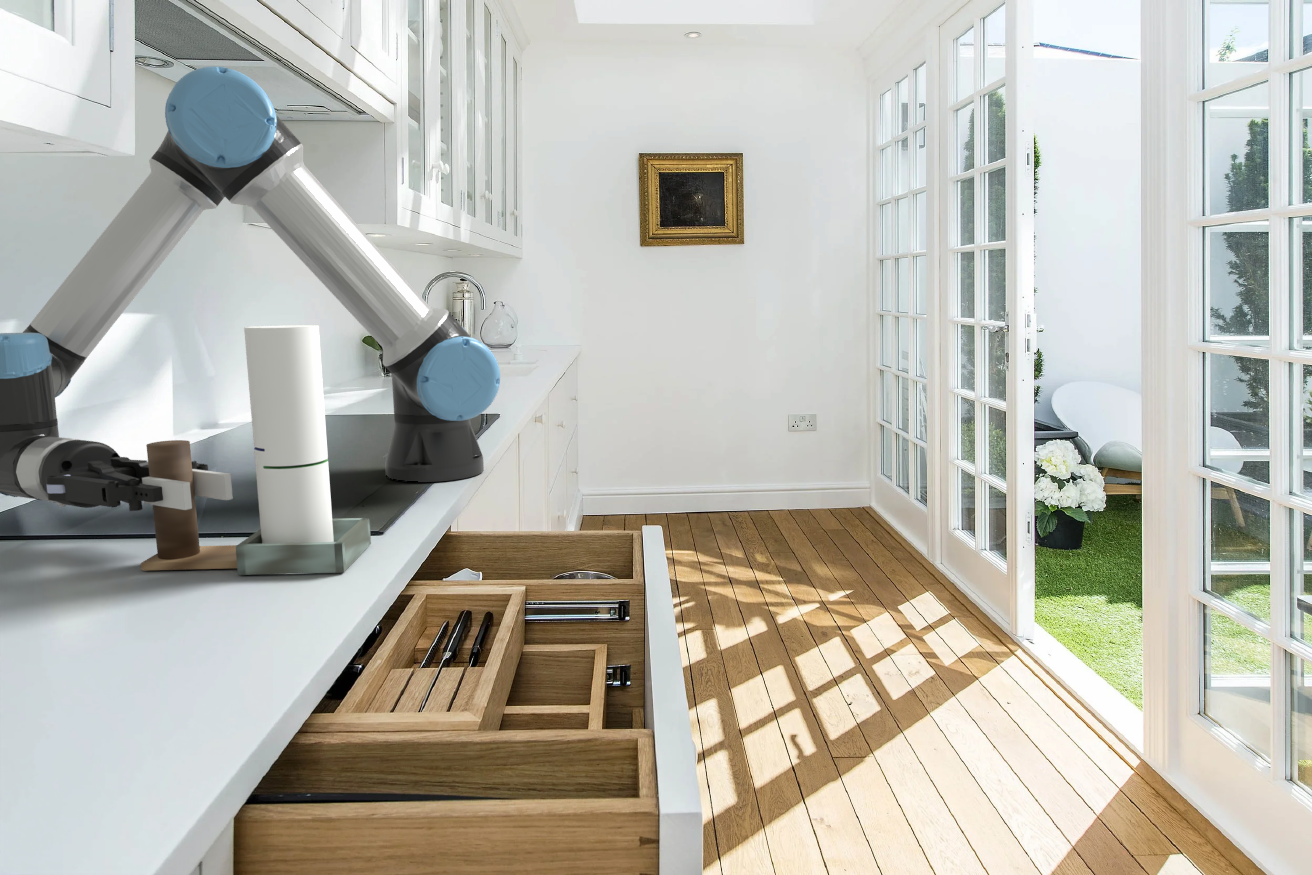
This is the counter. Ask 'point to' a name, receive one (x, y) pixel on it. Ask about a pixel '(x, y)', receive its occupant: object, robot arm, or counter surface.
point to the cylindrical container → (289, 433)
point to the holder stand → (250, 555)
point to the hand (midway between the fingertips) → (208, 491)
